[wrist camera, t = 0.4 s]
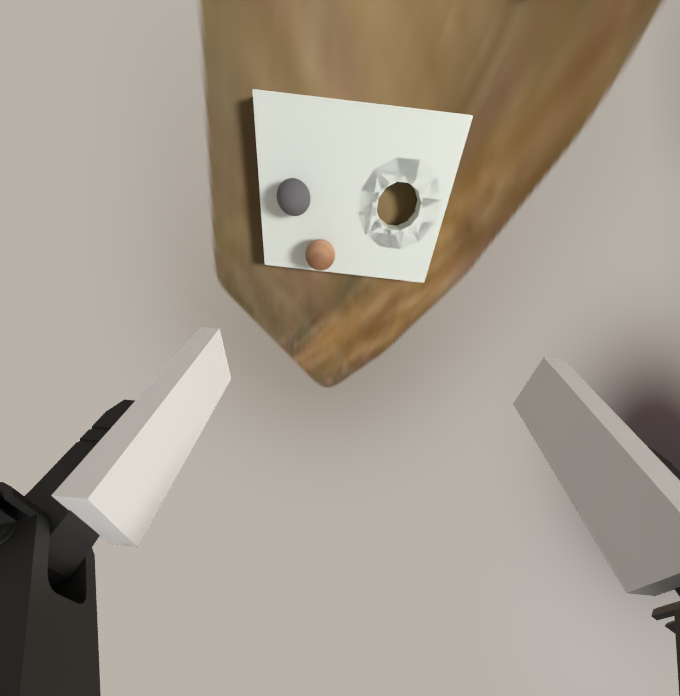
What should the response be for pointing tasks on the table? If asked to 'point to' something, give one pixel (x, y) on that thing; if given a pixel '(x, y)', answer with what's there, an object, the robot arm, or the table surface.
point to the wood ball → (320, 254)
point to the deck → (354, 180)
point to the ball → (293, 197)
